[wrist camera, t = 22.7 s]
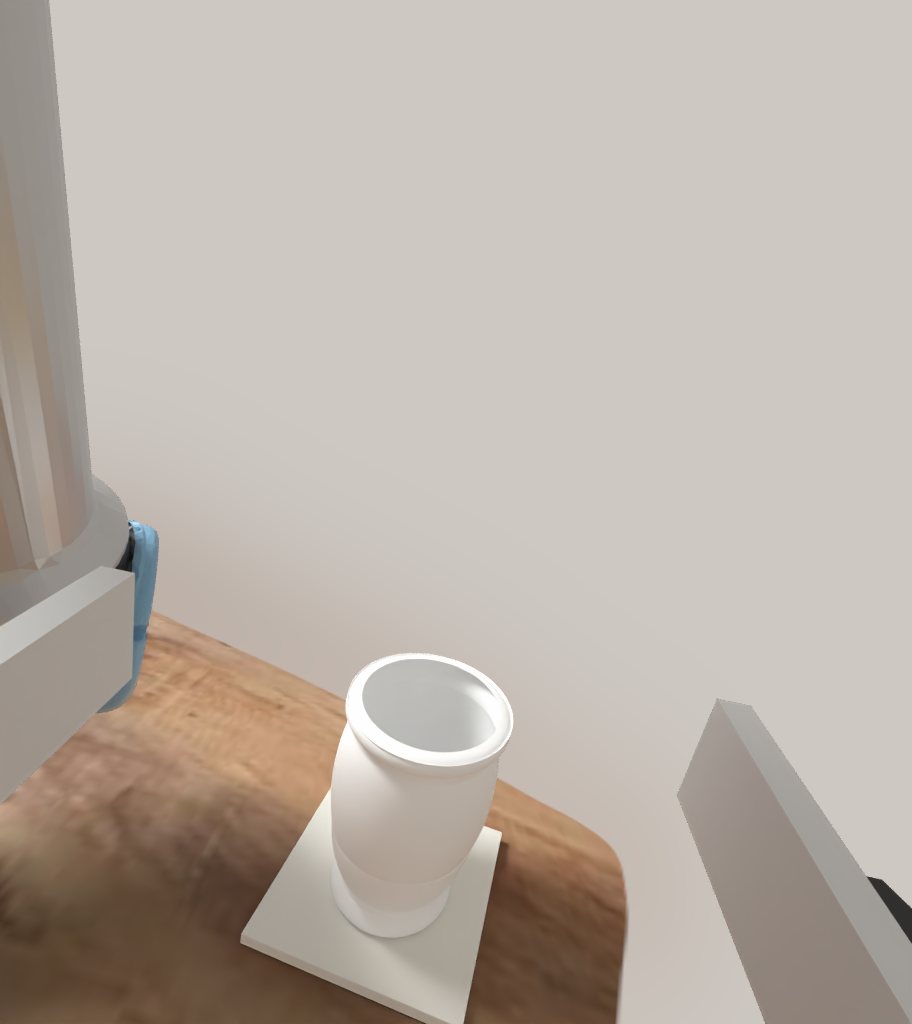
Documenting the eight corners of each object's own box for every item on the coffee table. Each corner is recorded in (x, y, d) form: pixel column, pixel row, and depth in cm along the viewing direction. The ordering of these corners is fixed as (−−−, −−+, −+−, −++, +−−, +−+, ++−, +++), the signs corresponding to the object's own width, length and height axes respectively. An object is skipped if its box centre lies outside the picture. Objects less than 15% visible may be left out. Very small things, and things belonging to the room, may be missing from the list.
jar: (360, 795, 46) (392, 634, 41) (481, 850, 43) (529, 685, 39) (281, 911, 36) (311, 718, 31) (431, 991, 34) (488, 794, 29)
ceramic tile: (240, 942, 35) (241, 933, 34) (338, 780, 48) (339, 773, 48) (459, 1037, 32) (462, 1028, 32) (499, 840, 46) (501, 832, 45)
